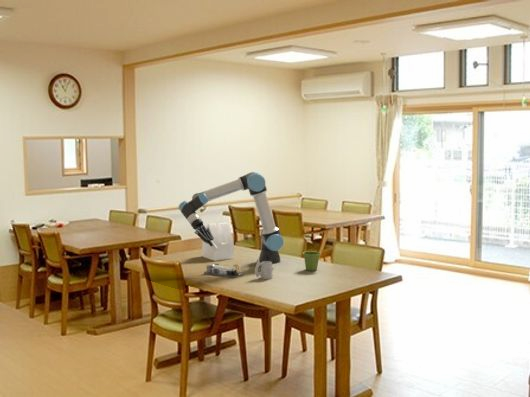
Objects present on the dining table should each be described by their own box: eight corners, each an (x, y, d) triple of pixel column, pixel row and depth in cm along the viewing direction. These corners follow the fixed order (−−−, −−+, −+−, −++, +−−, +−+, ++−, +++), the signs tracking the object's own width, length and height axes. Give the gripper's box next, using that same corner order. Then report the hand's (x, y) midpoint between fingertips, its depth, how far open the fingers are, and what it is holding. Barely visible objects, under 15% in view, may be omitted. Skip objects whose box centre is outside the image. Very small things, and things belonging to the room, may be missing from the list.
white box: (202, 256, 445) (202, 222, 442) (220, 254, 453) (220, 220, 450) (214, 260, 429) (214, 225, 426) (233, 258, 437) (233, 224, 434)
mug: (274, 278, 375) (275, 259, 374) (257, 280, 370) (257, 261, 369) (269, 276, 382) (269, 257, 381) (252, 277, 377) (252, 258, 376)
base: (204, 273, 389) (204, 262, 388) (213, 270, 397) (213, 259, 397) (234, 278, 376) (234, 266, 375) (243, 275, 384) (243, 263, 384)
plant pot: (299, 270, 397) (299, 253, 396) (306, 267, 408) (307, 250, 407) (316, 272, 392) (316, 255, 391) (323, 269, 402) (323, 252, 401)
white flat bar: (209, 268, 390) (209, 265, 390) (214, 266, 394) (214, 264, 394) (231, 271, 380) (231, 268, 380) (236, 270, 384) (236, 267, 384)
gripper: (198, 224, 403) (218, 251, 396) (185, 226, 392) (206, 254, 385) (204, 216, 400) (225, 244, 392) (192, 218, 389) (212, 247, 381)
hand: (216, 249), depth 389 cm, fingers closed
